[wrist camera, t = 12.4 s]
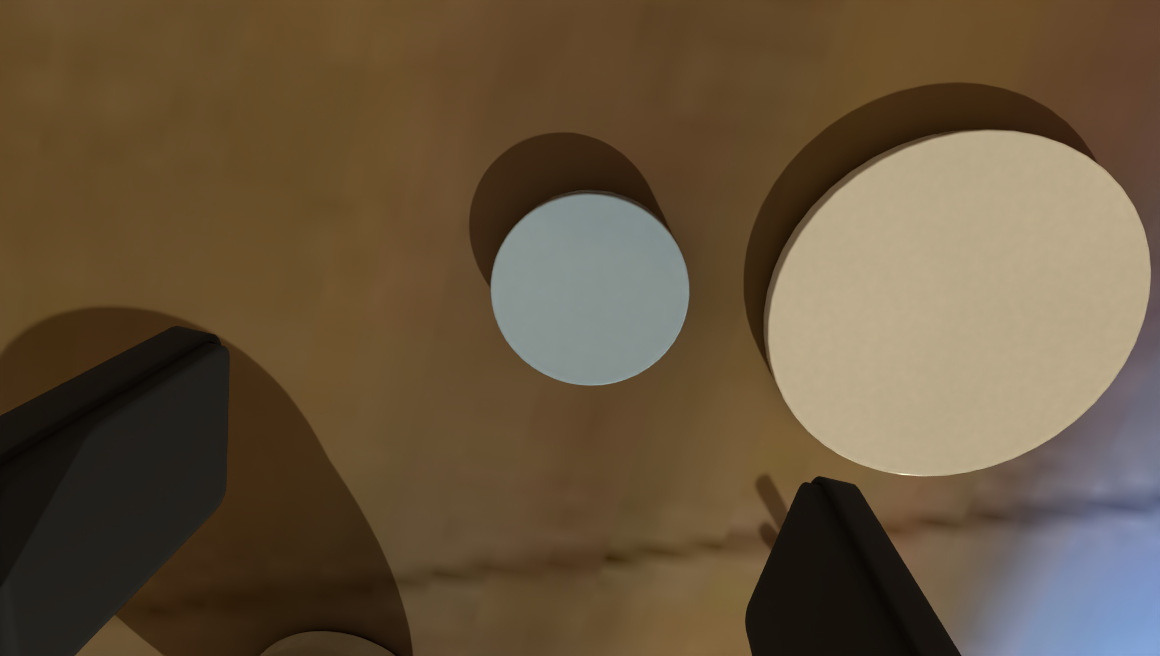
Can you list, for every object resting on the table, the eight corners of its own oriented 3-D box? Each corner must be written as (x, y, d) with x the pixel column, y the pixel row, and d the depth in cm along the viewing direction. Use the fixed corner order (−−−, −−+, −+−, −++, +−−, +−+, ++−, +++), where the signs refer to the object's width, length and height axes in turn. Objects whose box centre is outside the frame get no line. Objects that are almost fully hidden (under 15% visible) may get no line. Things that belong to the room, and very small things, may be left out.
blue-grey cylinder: (519, 166, 22) (512, 169, 21) (710, 216, 22) (716, 223, 21) (482, 344, 25) (473, 359, 23) (654, 388, 25) (656, 406, 23)
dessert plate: (835, 86, 21) (848, 84, 20) (1199, 181, 21) (1231, 185, 20) (716, 417, 25) (721, 431, 24) (1018, 492, 25) (1038, 510, 24)
